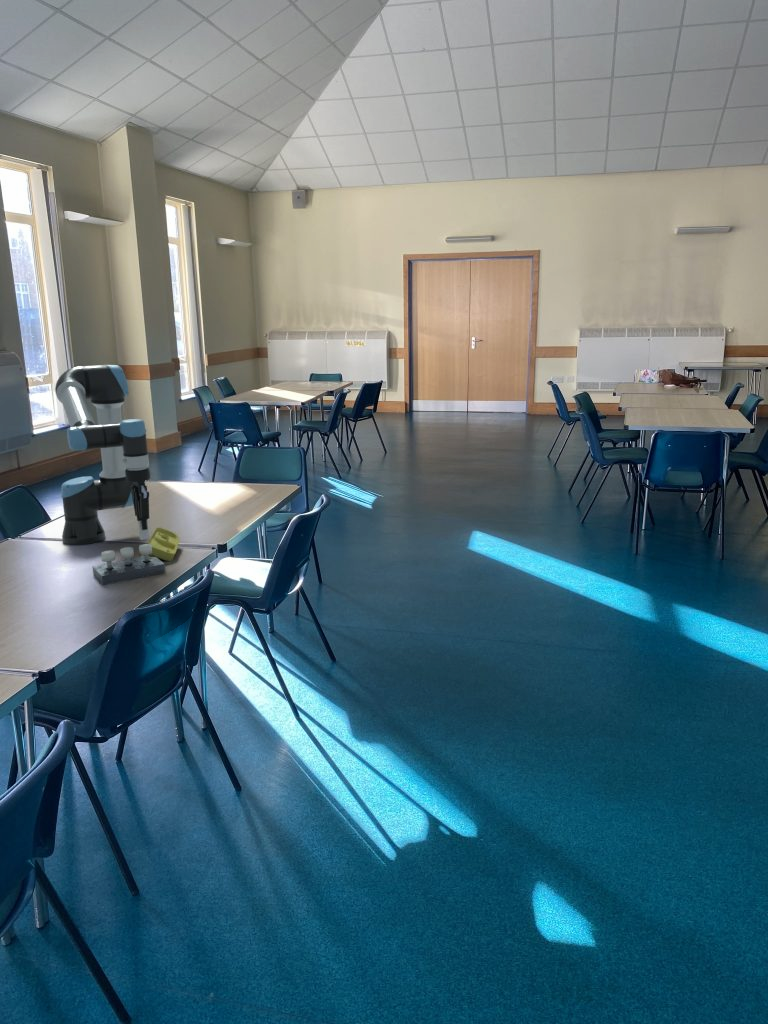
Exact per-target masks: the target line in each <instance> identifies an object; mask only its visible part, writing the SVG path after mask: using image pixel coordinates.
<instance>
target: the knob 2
mask: <svg viewBox="0 0 768 1024" xmlns="http://www.w3.org/2000/svg"><path fill="white" fill-rule="evenodd" d="M138 551H139V555H141V556H142V555H144V561H145V562H147V561H149V557H148V554H151V553H152V546H151V544H148V543H145V544H144V543H143V544H139V545H138Z"/></svg>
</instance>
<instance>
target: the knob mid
mask: <svg viewBox="0 0 768 1024" xmlns="http://www.w3.org/2000/svg"><path fill="white" fill-rule="evenodd" d="M119 550H120V551H119V552H120V558H122V559H124V560H126V565H130V564H131V563H130V559H132V558H134V556H135V554H134V552H135V551H134V547H131V546H125V547H122V548H120V549H119Z"/></svg>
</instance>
